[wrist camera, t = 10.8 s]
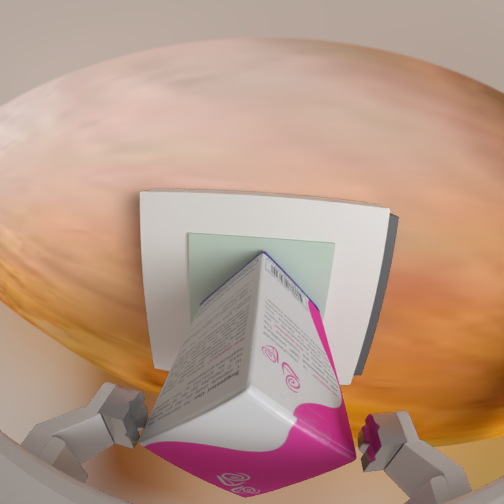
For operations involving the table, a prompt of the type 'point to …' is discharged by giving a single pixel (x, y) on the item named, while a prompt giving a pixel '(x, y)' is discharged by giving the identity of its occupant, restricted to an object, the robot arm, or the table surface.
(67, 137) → the table surface
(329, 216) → the dock
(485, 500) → the robot arm
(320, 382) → the supplement box
